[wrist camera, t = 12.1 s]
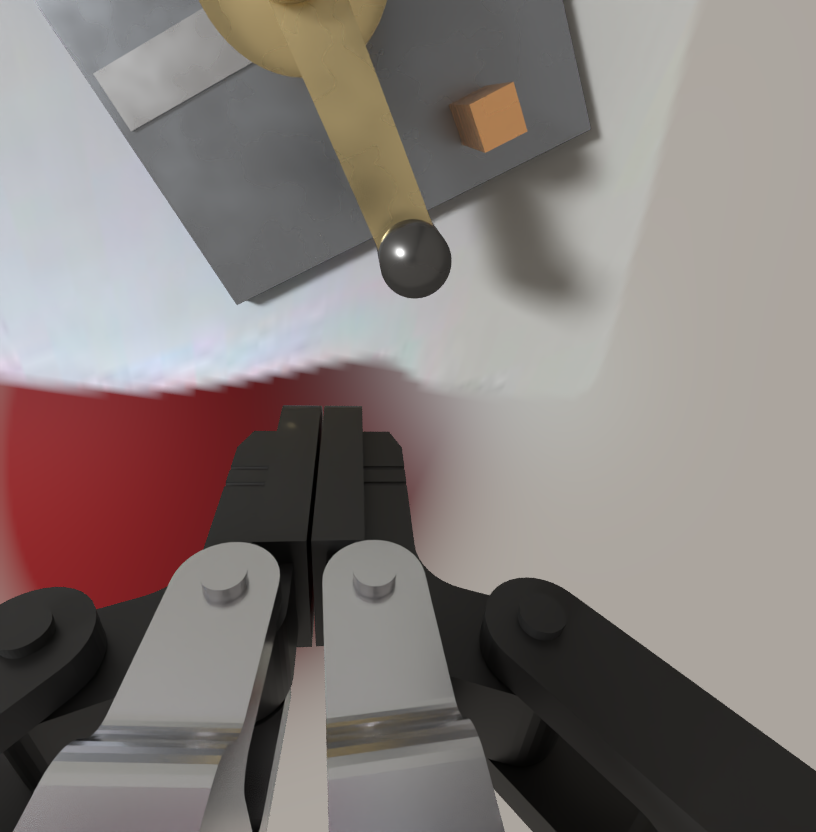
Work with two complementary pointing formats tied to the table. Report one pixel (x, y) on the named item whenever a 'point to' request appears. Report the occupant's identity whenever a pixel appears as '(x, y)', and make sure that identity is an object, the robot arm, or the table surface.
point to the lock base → (301, 124)
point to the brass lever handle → (347, 119)
